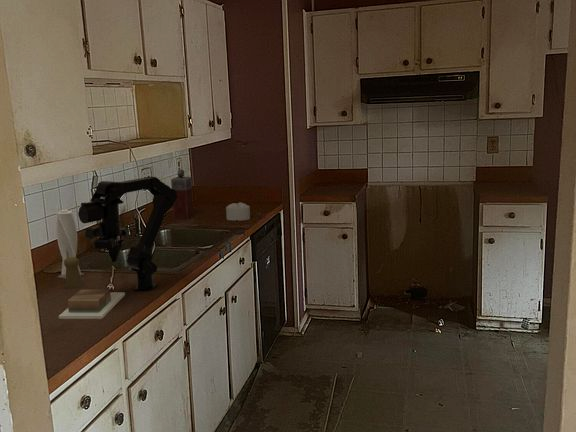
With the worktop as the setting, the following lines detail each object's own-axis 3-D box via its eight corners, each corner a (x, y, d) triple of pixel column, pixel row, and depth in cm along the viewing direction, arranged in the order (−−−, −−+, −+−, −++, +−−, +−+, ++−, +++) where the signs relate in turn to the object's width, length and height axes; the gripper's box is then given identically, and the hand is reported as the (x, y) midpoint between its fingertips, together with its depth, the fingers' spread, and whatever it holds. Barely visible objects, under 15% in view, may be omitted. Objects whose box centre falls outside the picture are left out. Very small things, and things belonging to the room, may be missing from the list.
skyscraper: (55, 276, 226) (47, 207, 220) (71, 271, 233) (64, 203, 227) (70, 279, 222) (62, 209, 216) (86, 273, 229) (79, 205, 223)
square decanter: (176, 215, 336) (173, 168, 330) (193, 216, 334) (191, 168, 328) (169, 218, 328) (166, 170, 322) (187, 219, 325) (184, 170, 319)
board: (86, 295, 204) (86, 292, 204) (124, 295, 203) (124, 292, 203) (58, 318, 183) (58, 315, 182) (101, 318, 182) (101, 316, 182)
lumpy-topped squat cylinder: (231, 216, 332) (231, 201, 330) (252, 217, 328) (252, 202, 326) (224, 220, 322) (224, 205, 320) (246, 221, 318) (245, 205, 316)
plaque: (81, 289, 195) (67, 300, 184) (110, 289, 194) (97, 300, 184) (82, 300, 196) (68, 312, 185) (111, 300, 195) (98, 312, 185)
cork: (84, 283, 217) (81, 255, 215) (79, 288, 212) (76, 259, 209) (68, 283, 217) (65, 255, 215) (63, 288, 211) (59, 260, 209)
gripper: (97, 212, 205) (101, 254, 208) (76, 224, 187) (80, 269, 190) (128, 212, 204) (131, 254, 208) (109, 224, 186) (113, 269, 189)
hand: (114, 261), depth 199 cm, fingers closed
